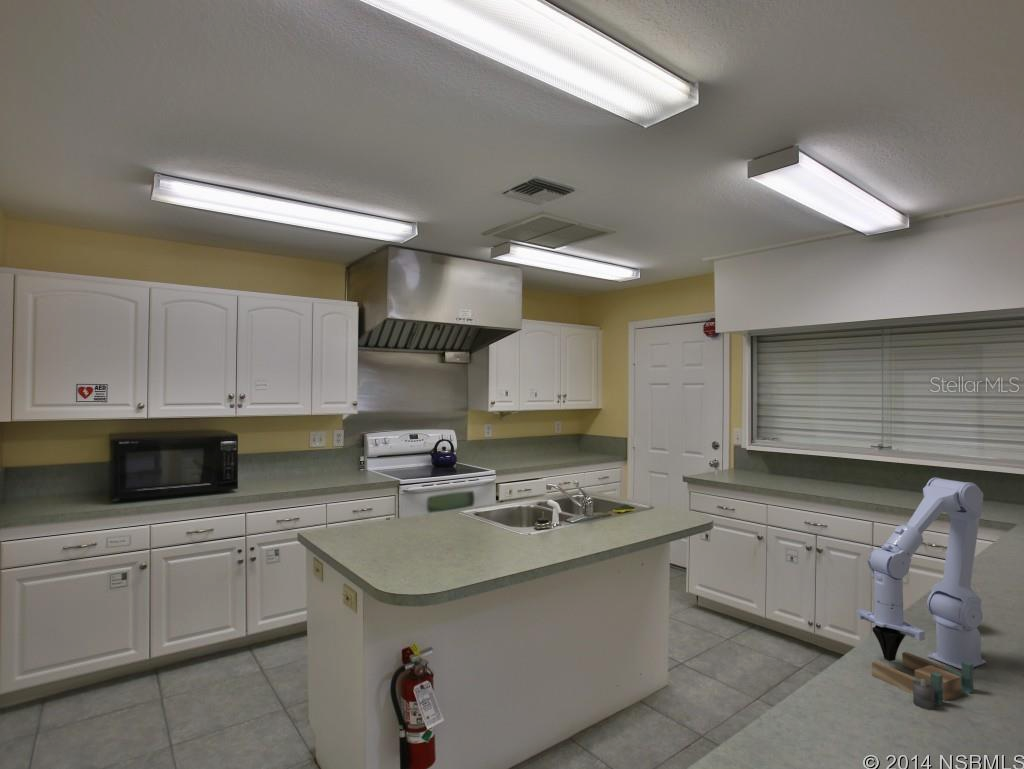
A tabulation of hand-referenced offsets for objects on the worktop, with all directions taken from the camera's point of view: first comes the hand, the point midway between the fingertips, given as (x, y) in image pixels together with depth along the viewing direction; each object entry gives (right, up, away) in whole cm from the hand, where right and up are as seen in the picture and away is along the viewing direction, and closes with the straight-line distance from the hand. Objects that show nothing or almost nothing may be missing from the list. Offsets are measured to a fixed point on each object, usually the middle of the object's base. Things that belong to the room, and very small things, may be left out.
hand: (889, 659), depth 134 cm
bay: (+1, -2, -7) cm, 8 cm away
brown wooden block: (+4, -3, -10) cm, 11 cm away
